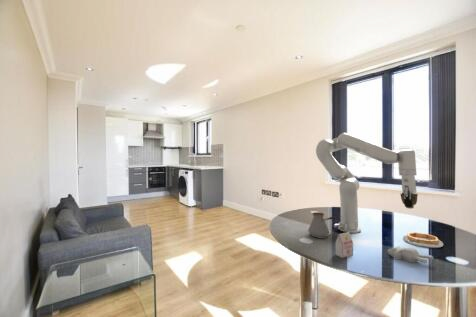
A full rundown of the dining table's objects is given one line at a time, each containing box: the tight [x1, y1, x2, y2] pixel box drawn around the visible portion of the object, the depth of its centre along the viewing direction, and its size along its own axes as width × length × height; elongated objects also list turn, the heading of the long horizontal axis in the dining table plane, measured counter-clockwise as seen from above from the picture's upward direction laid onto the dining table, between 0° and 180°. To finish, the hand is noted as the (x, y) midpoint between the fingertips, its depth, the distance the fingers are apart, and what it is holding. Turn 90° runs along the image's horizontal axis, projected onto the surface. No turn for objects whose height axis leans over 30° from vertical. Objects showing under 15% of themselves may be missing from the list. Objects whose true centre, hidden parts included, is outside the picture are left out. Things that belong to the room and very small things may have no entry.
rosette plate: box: [402, 231, 444, 249], centre depth 116 cm, size 16×16×3 cm
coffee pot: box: [307, 211, 343, 239], centre depth 123 cm, size 21×12×15 cm, turn 27°
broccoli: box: [399, 192, 418, 209], centre depth 120 cm, size 8×7×8 cm
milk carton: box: [335, 232, 354, 259], centre depth 102 cm, size 4×7×10 cm, turn 113°
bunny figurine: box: [387, 246, 435, 264], centre depth 96 cm, size 10×5×15 cm
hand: (409, 205), depth 120 cm, fingers closed on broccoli, 6 cm apart
